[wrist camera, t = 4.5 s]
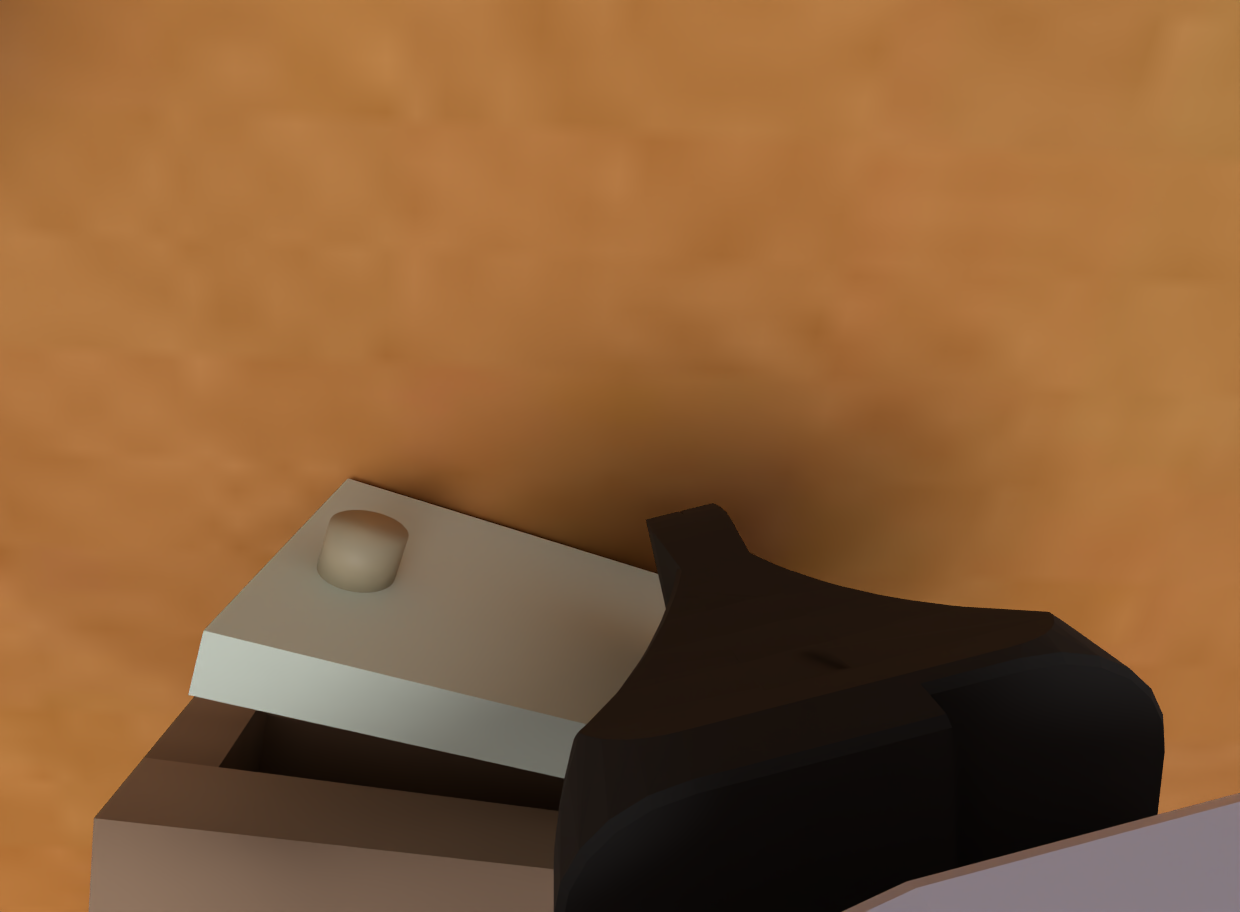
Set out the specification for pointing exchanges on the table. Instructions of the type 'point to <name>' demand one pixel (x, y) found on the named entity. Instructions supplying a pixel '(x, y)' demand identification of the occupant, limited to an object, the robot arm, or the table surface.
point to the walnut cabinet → (319, 824)
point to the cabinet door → (432, 631)
